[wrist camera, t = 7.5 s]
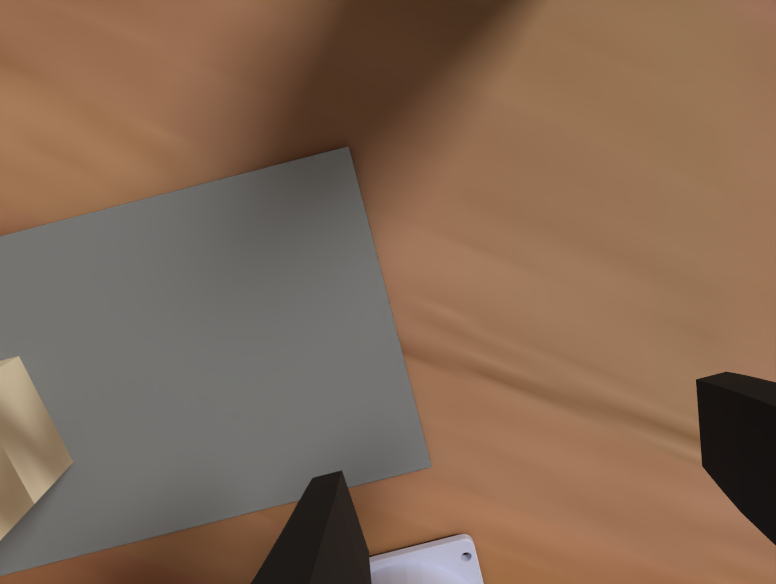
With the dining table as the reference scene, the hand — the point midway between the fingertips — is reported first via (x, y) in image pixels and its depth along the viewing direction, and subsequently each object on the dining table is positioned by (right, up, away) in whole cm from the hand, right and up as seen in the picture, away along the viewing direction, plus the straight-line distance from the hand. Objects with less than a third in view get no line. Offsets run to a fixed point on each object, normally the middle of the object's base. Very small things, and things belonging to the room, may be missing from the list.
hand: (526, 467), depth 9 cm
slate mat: (-14, -1, +10) cm, 17 cm away
